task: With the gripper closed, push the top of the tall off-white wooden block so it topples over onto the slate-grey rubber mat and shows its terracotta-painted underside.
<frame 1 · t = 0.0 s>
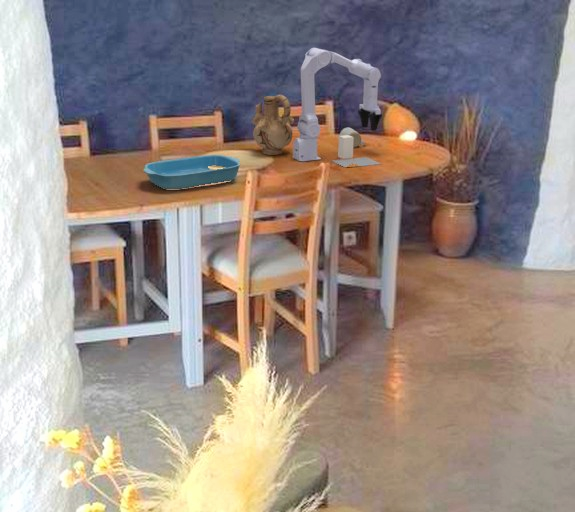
hand: (369, 128, 369), 10 cm above the table, fingers open, 7 cm apart
casserole dish: (193, 183, 326), on the table
slate mat: (356, 162, 355), on the table
ceramic mug: (353, 146, 384), on the table
ceramic vessel: (272, 152, 372), on the table
off-white block: (345, 158, 362), on the table
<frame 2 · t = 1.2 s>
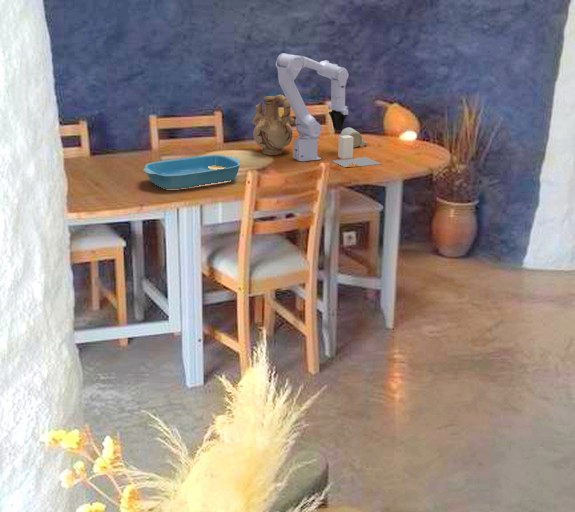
hand: (337, 129, 366), 10 cm above the table, fingers closed
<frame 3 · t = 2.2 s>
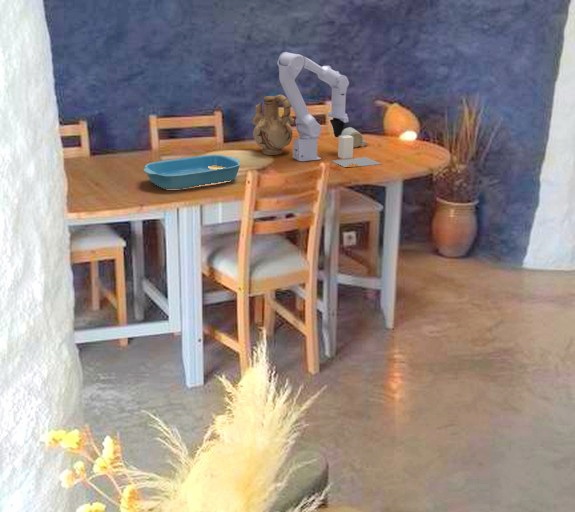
hand: (337, 136, 366), 7 cm above the table, fingers closed
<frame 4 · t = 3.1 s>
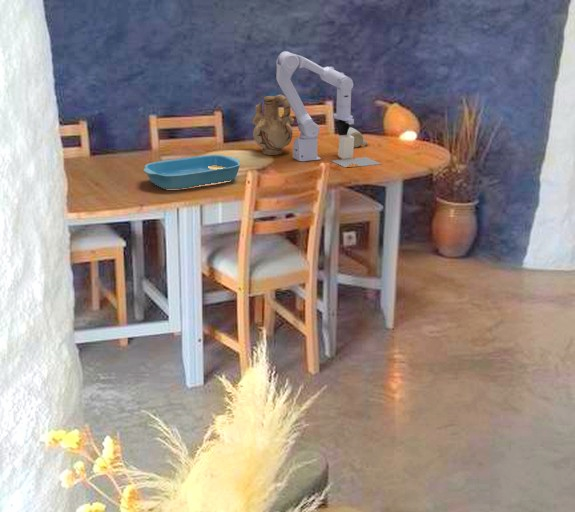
hand: (342, 138, 362), 7 cm above the table, fingers closed
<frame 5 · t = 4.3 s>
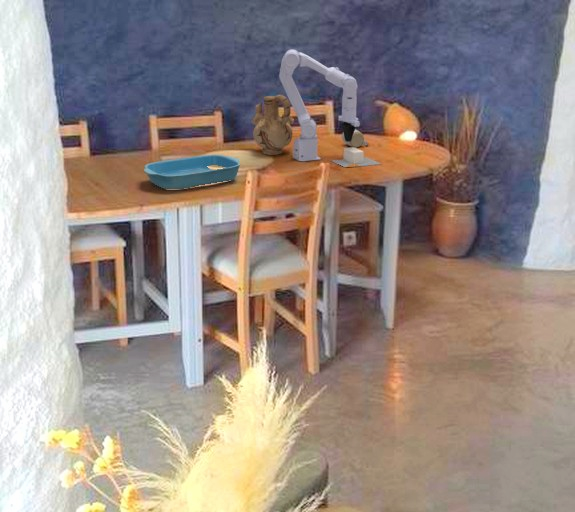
hand: (348, 141, 358), 7 cm above the table, fingers closed
off-white block: (348, 153, 360), point 3 cm above the table, tilted 90°, touching slate mat
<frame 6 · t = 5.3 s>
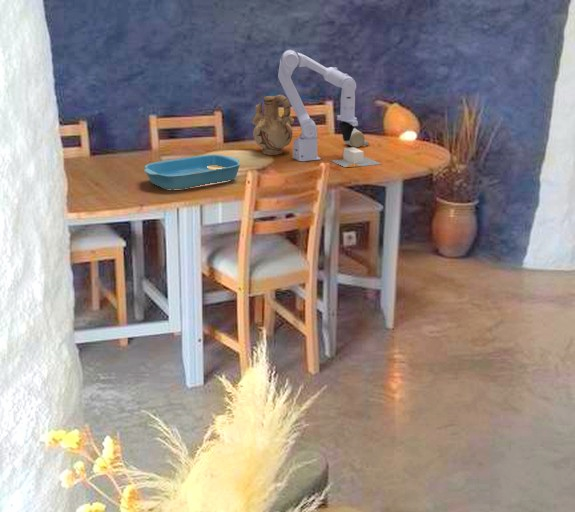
hand: (346, 140, 359), 7 cm above the table, fingers closed
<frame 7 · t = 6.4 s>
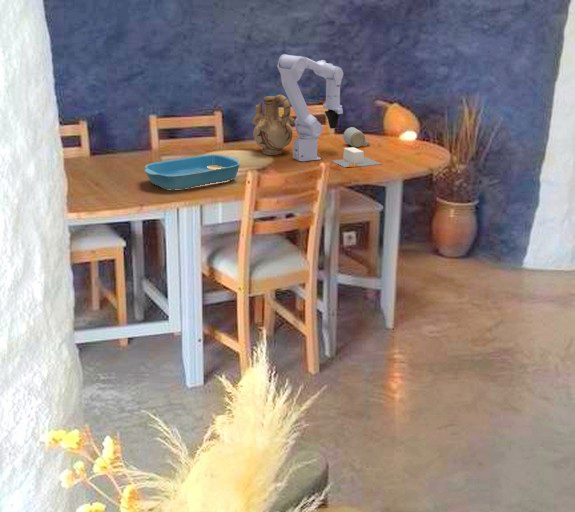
hand: (332, 128, 368), 10 cm above the table, fingers closed
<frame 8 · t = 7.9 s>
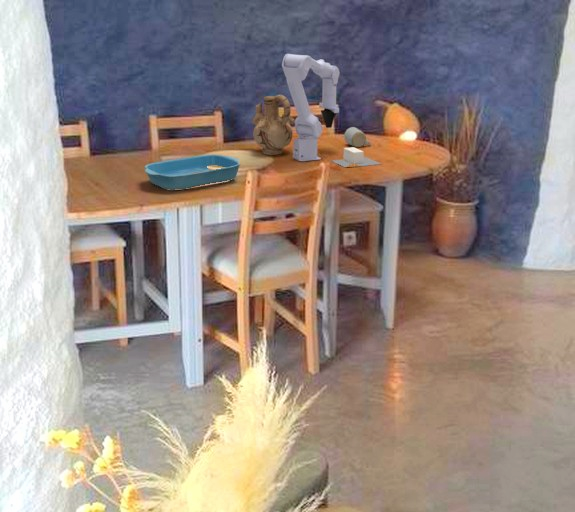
hand: (328, 127, 370), 10 cm above the table, fingers closed
at the end: off-white block tilted 90°; off-white block touching slate mat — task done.
